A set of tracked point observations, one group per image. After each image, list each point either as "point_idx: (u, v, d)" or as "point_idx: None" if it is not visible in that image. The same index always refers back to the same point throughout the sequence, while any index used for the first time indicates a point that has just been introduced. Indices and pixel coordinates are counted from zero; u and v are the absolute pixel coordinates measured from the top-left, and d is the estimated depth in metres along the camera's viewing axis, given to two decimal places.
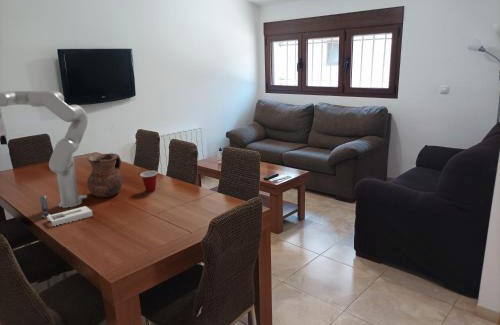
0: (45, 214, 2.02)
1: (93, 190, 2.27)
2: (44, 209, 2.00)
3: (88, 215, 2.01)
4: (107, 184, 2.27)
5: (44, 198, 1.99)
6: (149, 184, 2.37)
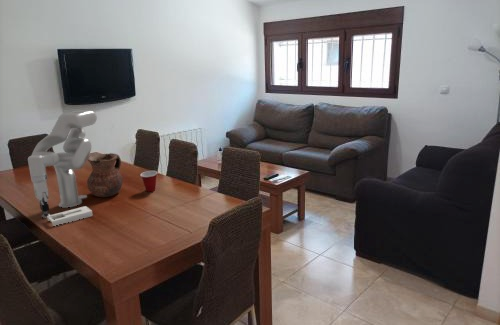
0: (45, 214, 2.02)
1: (93, 190, 2.27)
2: None
3: (88, 215, 2.01)
4: (107, 184, 2.27)
5: None
6: (149, 184, 2.37)
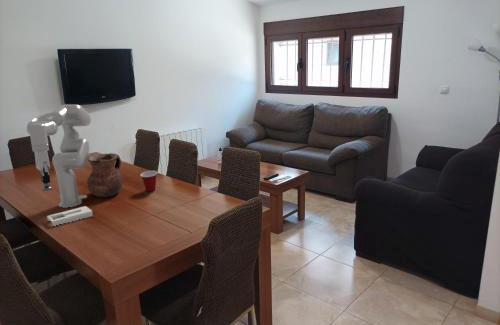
0: (46, 186, 1.93)
1: (93, 190, 2.27)
2: None
3: (88, 215, 2.01)
4: (107, 184, 2.27)
5: None
6: (149, 184, 2.37)
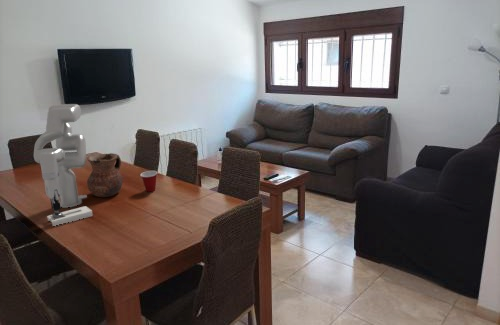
0: (56, 213, 1.94)
1: (93, 190, 2.27)
2: None
3: (88, 215, 2.01)
4: (107, 184, 2.27)
5: None
6: (149, 184, 2.37)
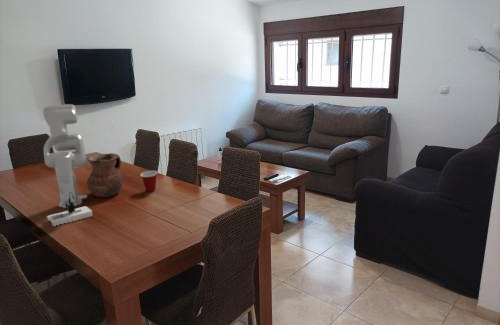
0: None
1: (93, 190, 2.27)
2: None
3: (88, 215, 2.01)
4: (107, 184, 2.27)
5: None
6: (149, 184, 2.37)
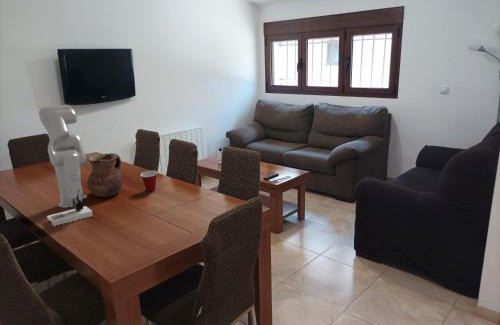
0: None
1: (93, 190, 2.27)
2: None
3: (88, 215, 2.01)
4: (107, 184, 2.27)
5: None
6: (149, 184, 2.37)
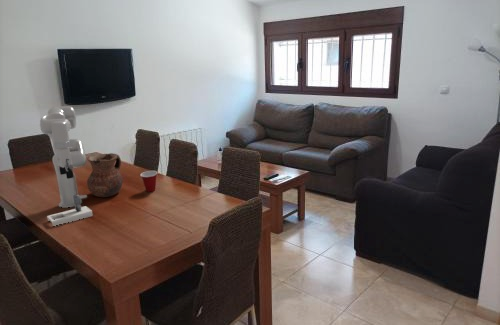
0: None
1: (93, 190, 2.27)
2: (78, 208, 2.01)
3: (88, 215, 2.01)
4: (107, 184, 2.27)
5: (78, 197, 2.00)
6: (149, 184, 2.37)
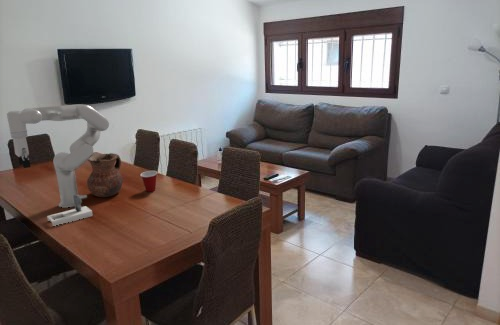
0: None
1: (93, 190, 2.27)
2: (78, 208, 2.01)
3: (88, 215, 2.01)
4: (107, 184, 2.27)
5: (78, 197, 2.00)
6: (149, 184, 2.37)
